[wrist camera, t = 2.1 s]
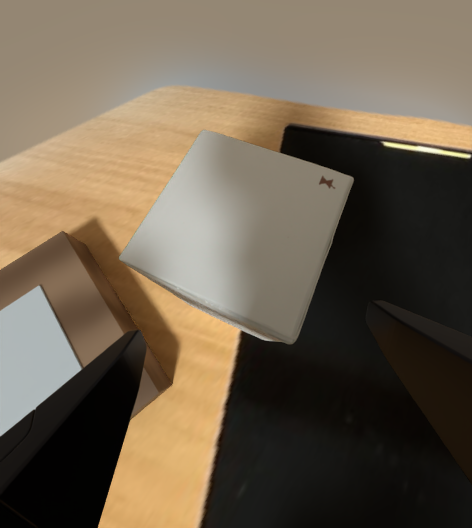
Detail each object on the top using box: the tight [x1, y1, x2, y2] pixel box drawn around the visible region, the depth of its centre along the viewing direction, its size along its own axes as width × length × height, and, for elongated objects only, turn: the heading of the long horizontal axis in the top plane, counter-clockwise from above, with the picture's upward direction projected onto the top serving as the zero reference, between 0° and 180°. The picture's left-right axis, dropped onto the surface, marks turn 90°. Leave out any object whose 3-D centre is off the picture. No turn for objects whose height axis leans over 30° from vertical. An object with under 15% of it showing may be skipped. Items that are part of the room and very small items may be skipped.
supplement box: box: [119, 130, 354, 344], centre depth 15 cm, size 7×7×13 cm
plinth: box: [0, 231, 172, 436], centre depth 18 cm, size 16×16×3 cm
